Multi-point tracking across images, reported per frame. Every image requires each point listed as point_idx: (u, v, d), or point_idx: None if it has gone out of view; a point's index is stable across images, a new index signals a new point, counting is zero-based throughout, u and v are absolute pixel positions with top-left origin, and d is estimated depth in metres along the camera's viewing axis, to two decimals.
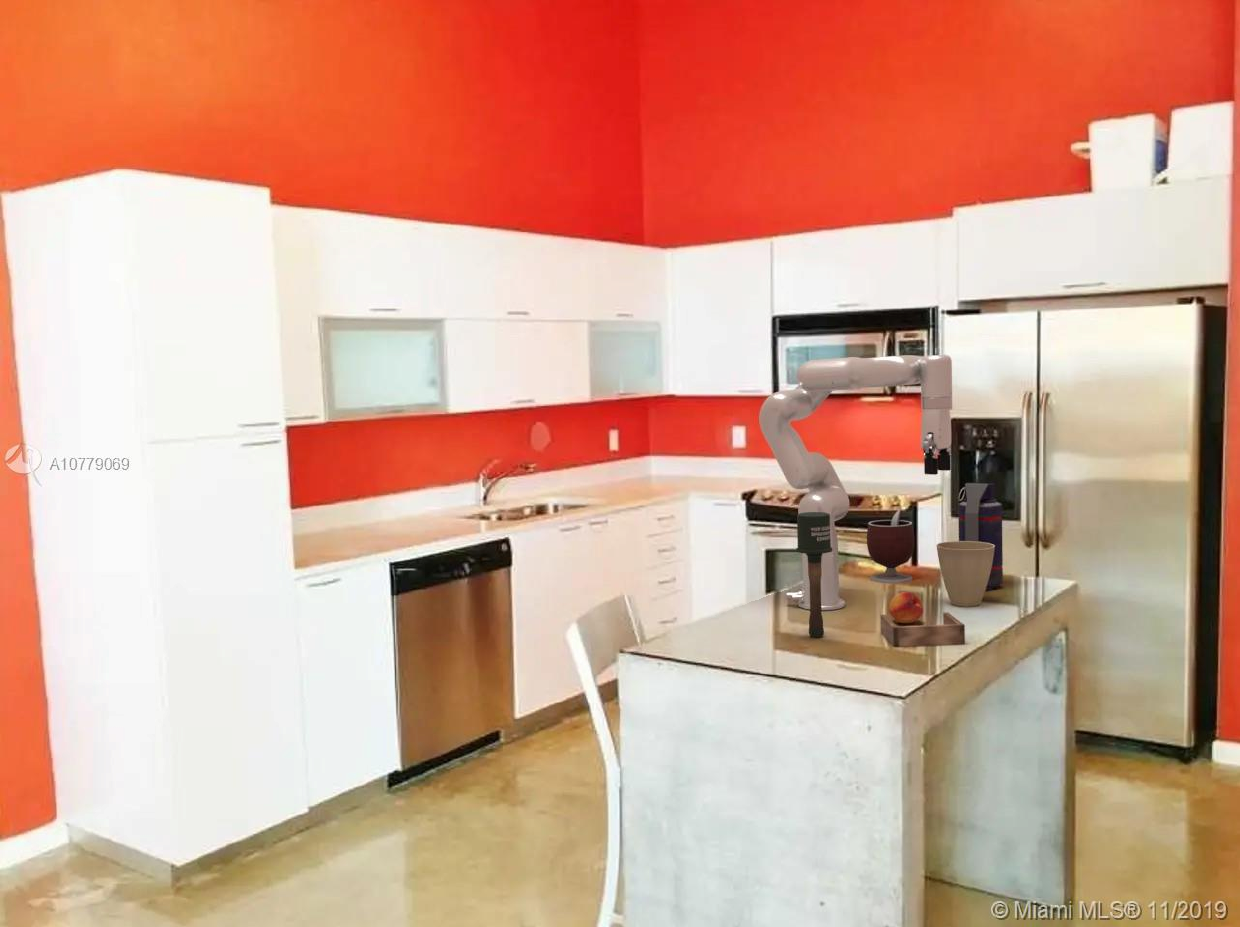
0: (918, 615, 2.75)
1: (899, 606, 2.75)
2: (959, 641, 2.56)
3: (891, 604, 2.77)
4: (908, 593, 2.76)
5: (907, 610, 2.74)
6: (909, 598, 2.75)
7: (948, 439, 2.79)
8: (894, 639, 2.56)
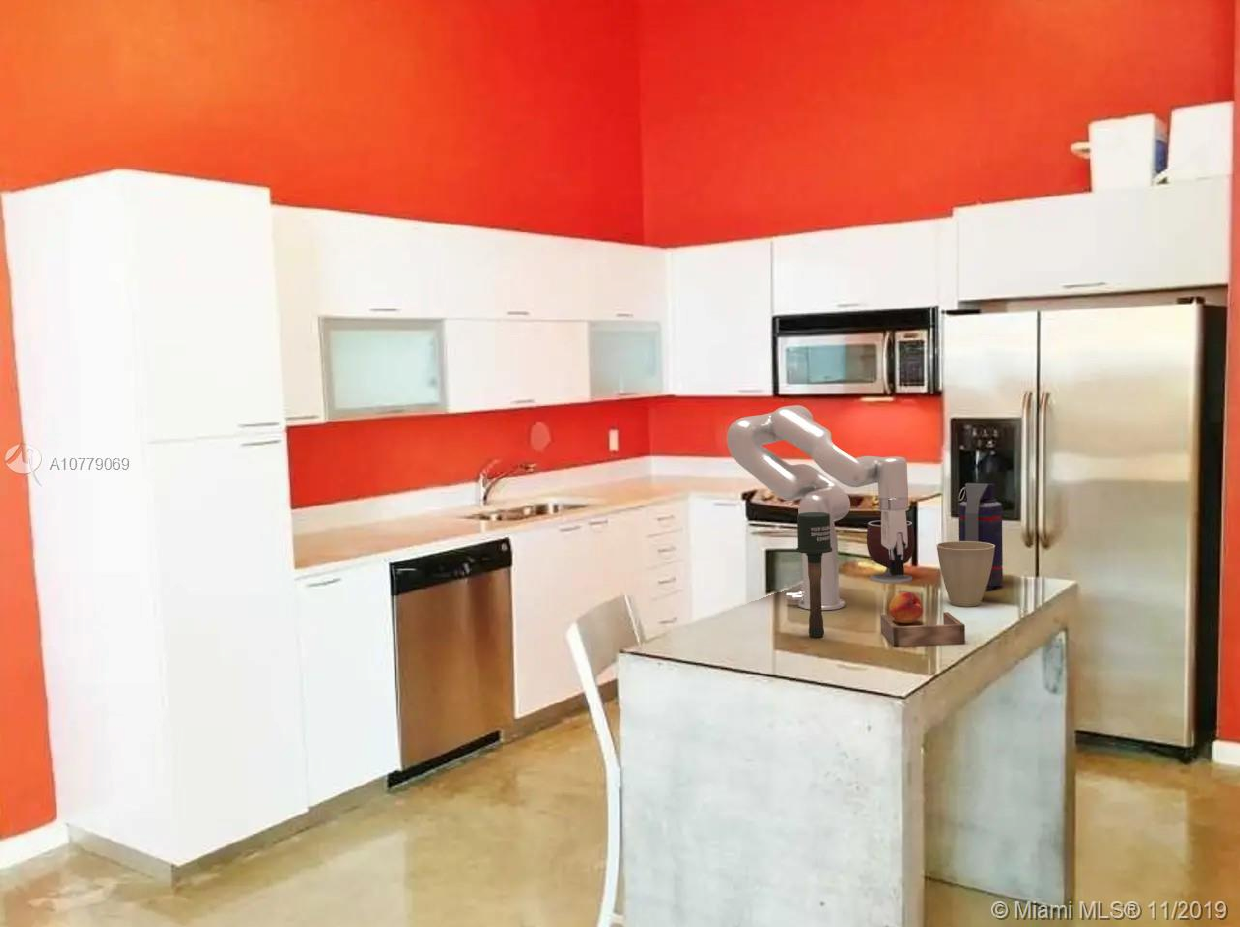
0: (918, 615, 2.75)
1: (899, 606, 2.75)
2: (959, 641, 2.56)
3: (891, 604, 2.77)
4: (908, 593, 2.76)
5: (907, 610, 2.74)
6: (909, 597, 2.75)
7: None
8: (894, 639, 2.56)
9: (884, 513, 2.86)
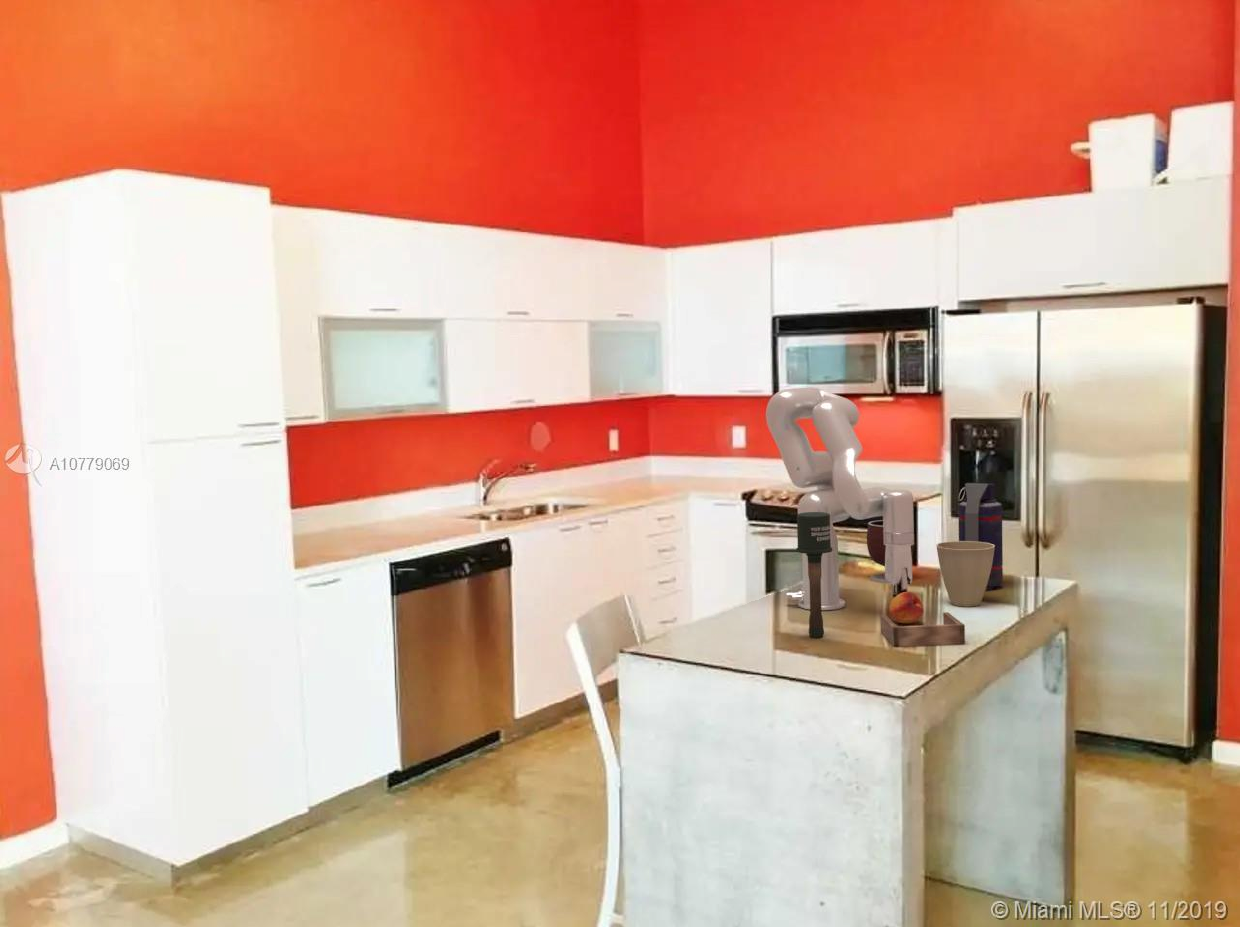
0: (918, 615, 2.74)
1: (900, 607, 2.74)
2: (959, 641, 2.56)
3: (891, 604, 2.77)
4: (908, 593, 2.76)
5: (907, 610, 2.74)
6: (909, 598, 2.75)
7: None
8: (894, 639, 2.56)
9: (889, 547, 2.81)
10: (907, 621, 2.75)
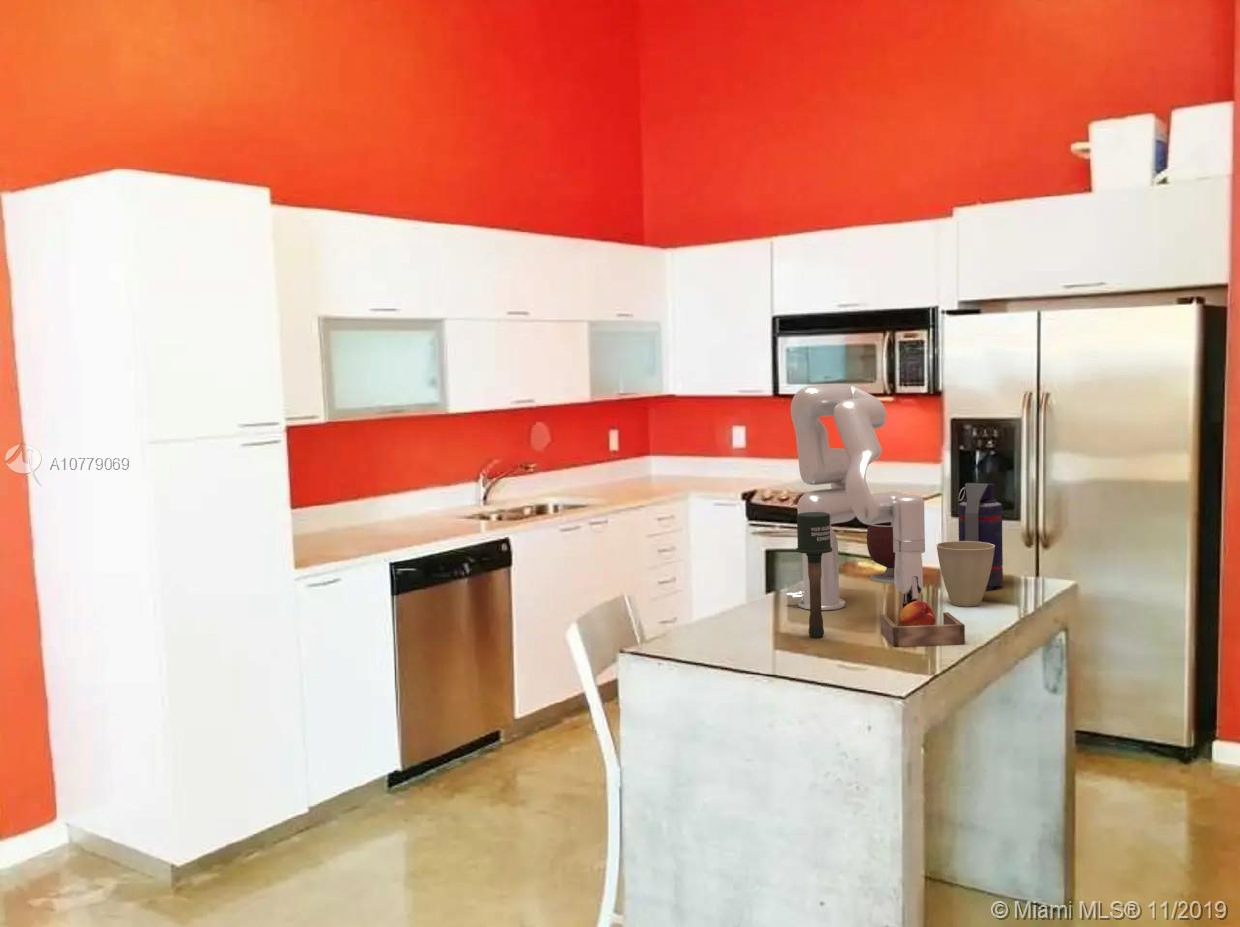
0: None
1: (911, 616, 2.64)
2: (959, 641, 2.56)
3: (902, 614, 2.66)
4: (920, 602, 2.66)
5: (919, 620, 2.63)
6: (921, 607, 2.64)
7: None
8: (894, 639, 2.56)
9: (899, 555, 2.71)
10: None
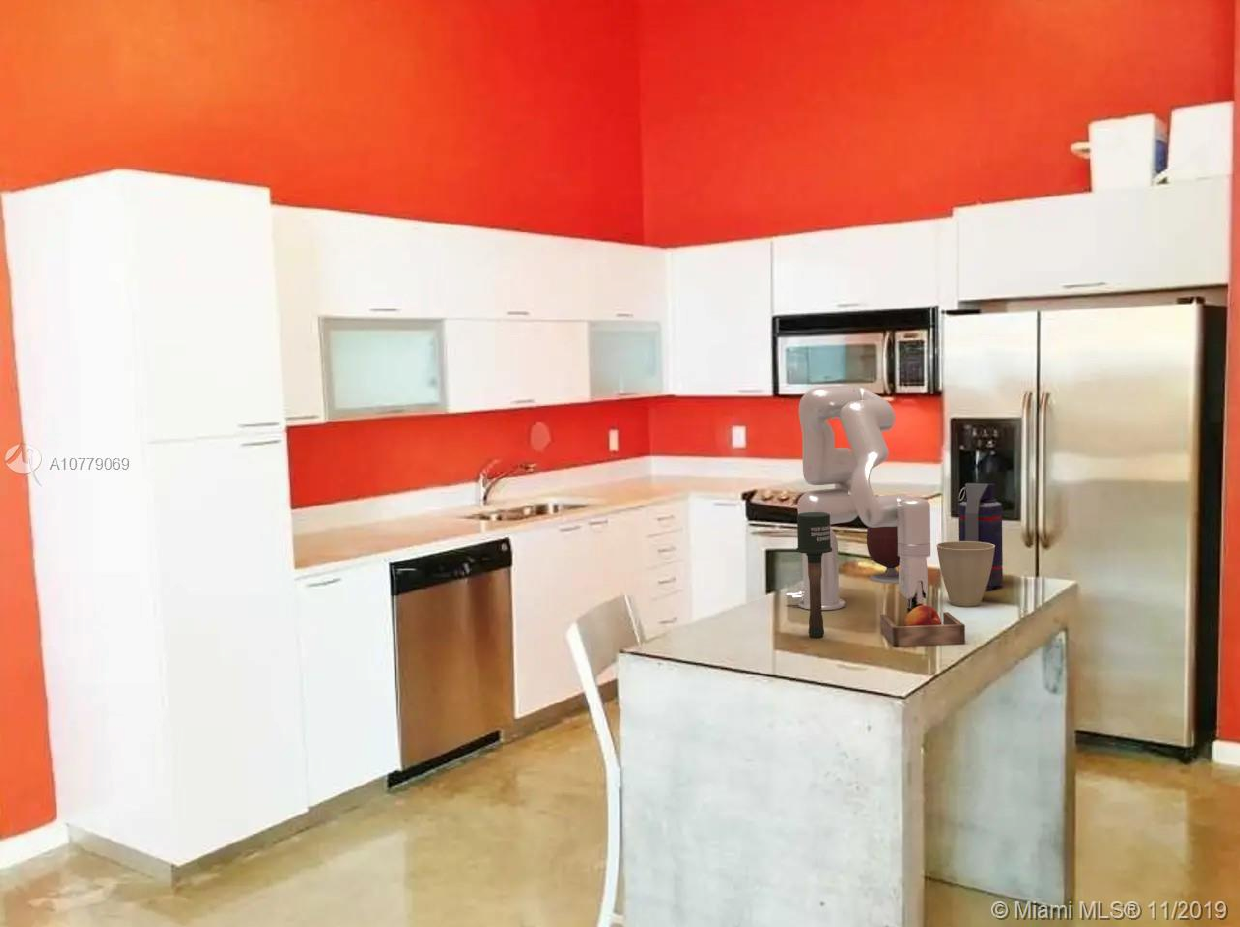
0: None
1: (918, 621, 2.59)
2: (959, 641, 2.56)
3: (908, 619, 2.61)
4: (925, 607, 2.61)
5: None
6: (927, 612, 2.59)
7: None
8: (894, 639, 2.56)
9: (904, 559, 2.66)
10: None
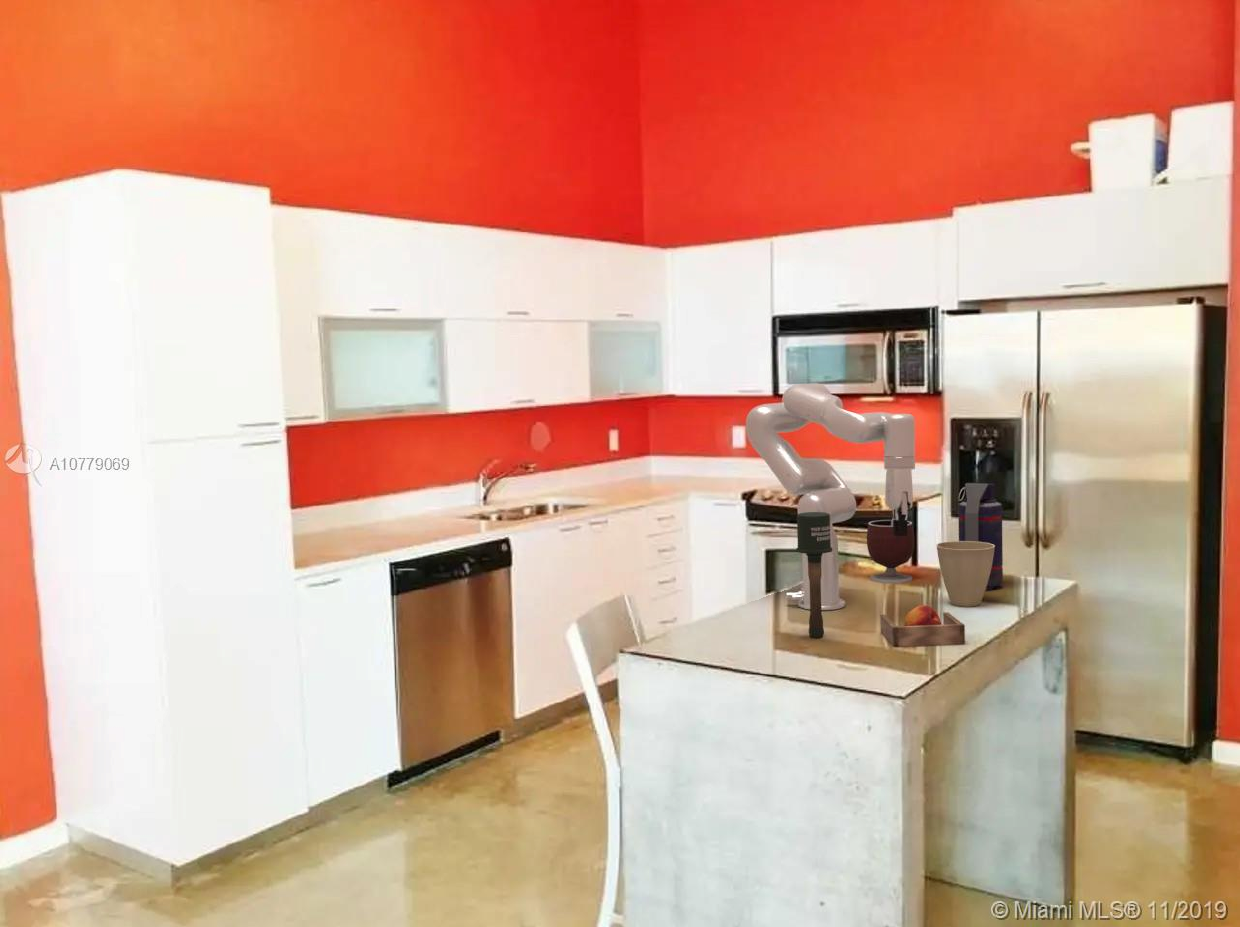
0: None
1: (918, 621, 2.59)
2: (959, 641, 2.56)
3: (908, 619, 2.61)
4: (925, 607, 2.61)
5: None
6: (927, 612, 2.59)
7: None
8: (894, 639, 2.56)
9: (889, 472, 2.77)
10: None
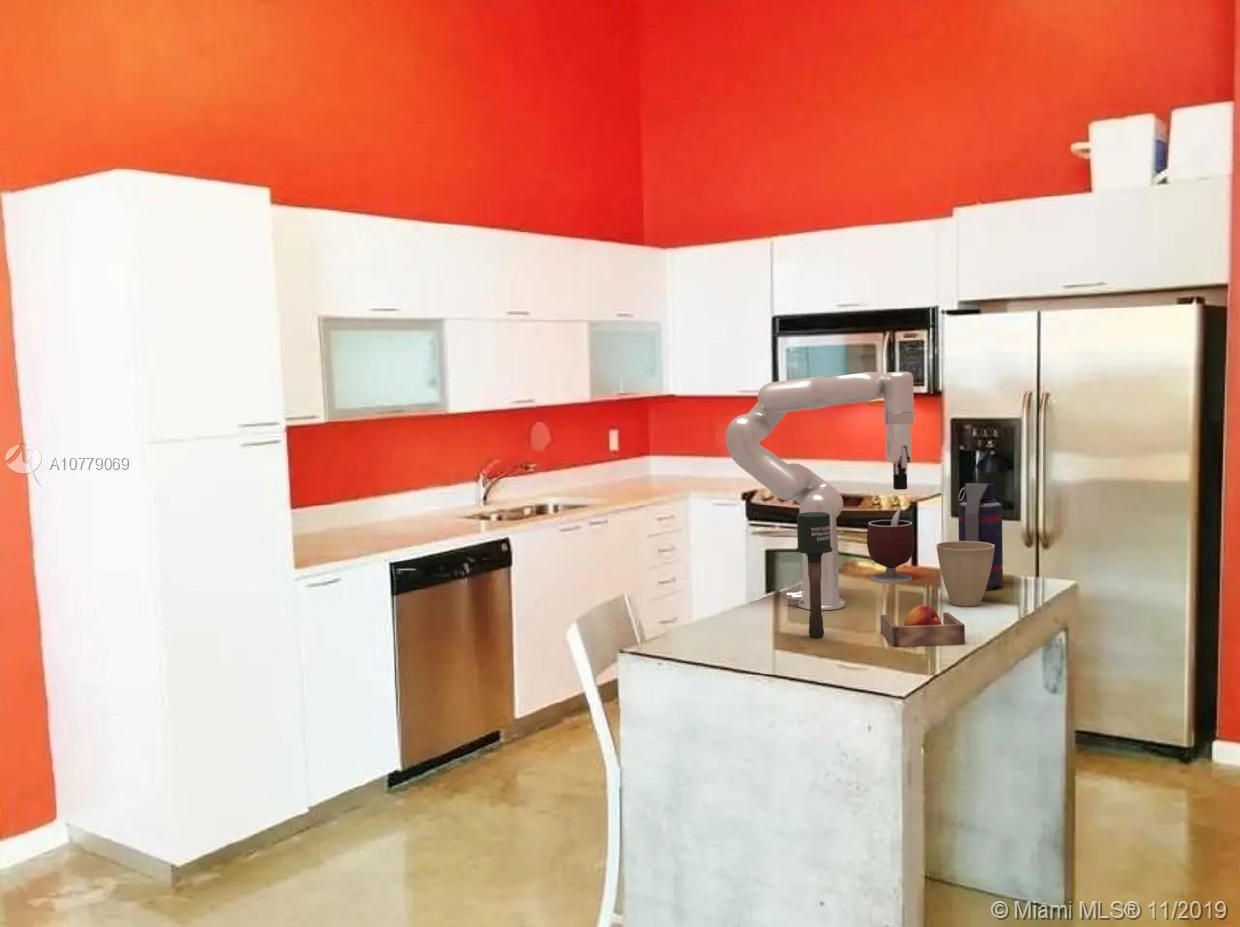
0: None
1: (918, 621, 2.59)
2: (959, 641, 2.56)
3: (908, 619, 2.61)
4: (925, 607, 2.61)
5: None
6: (927, 612, 2.59)
7: None
8: (894, 639, 2.56)
9: (889, 427, 2.88)
10: None
